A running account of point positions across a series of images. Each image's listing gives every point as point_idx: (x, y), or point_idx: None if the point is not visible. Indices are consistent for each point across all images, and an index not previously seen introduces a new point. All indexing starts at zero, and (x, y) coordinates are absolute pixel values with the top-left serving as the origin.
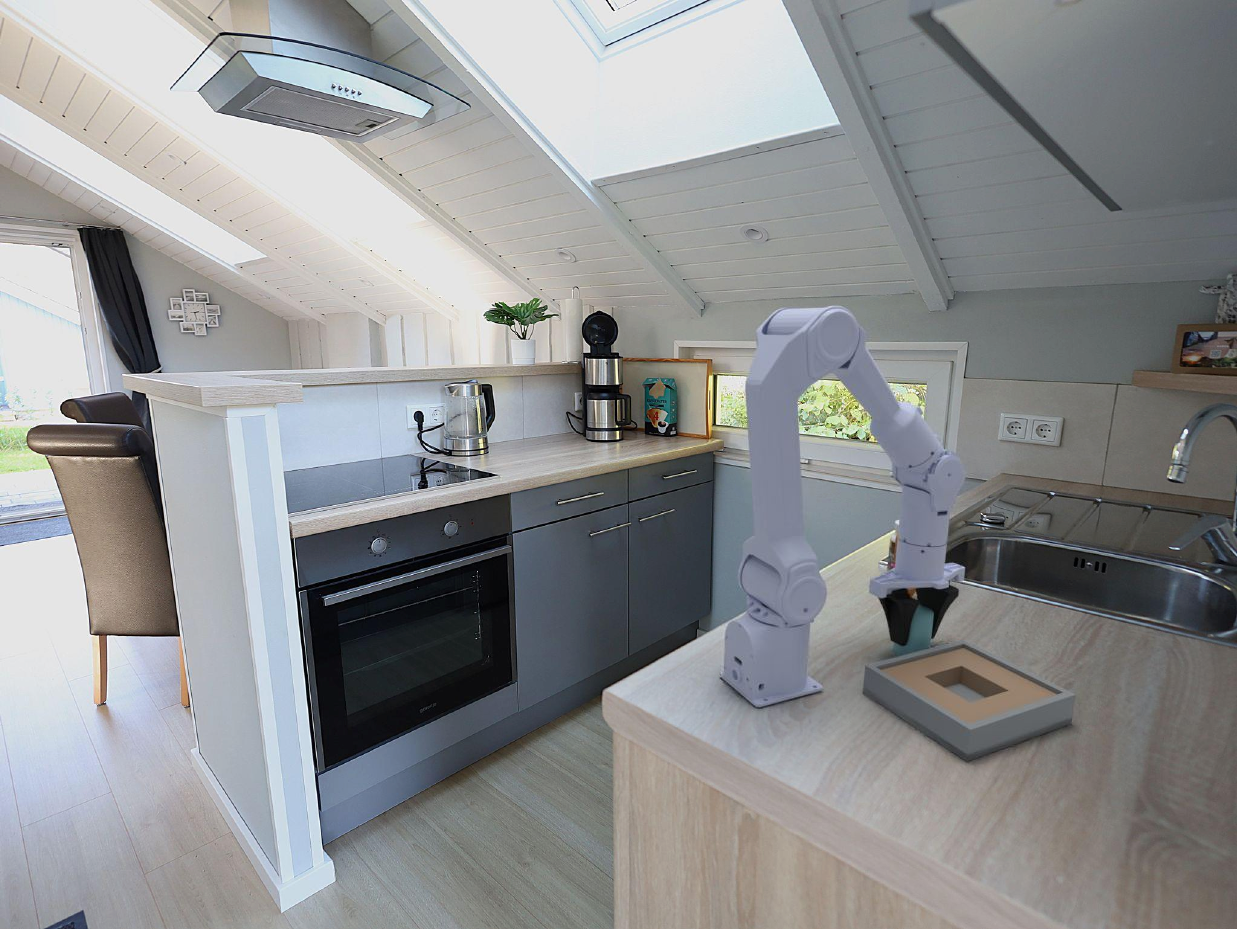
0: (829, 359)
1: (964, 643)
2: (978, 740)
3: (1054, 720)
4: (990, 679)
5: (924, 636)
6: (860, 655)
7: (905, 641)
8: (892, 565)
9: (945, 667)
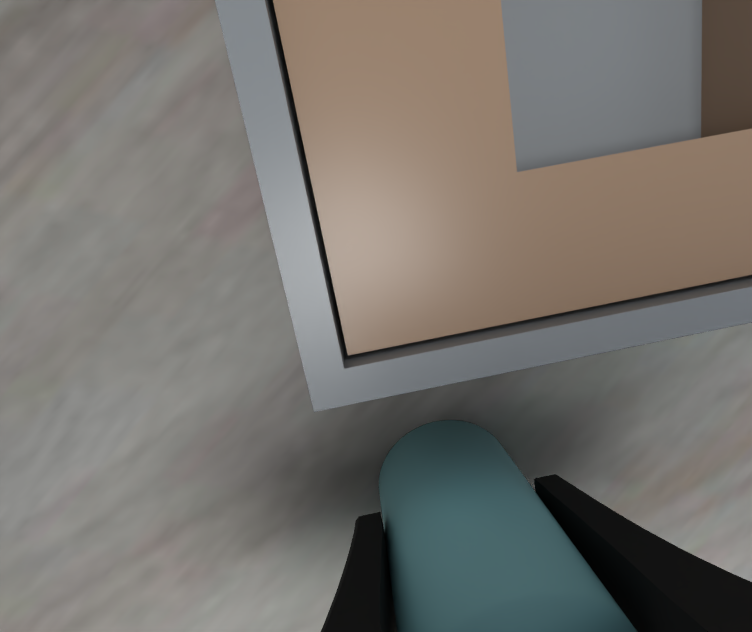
0: None
1: (337, 370)
2: None
3: None
4: None
5: (485, 490)
6: (636, 495)
7: (562, 486)
8: None
9: (616, 178)
